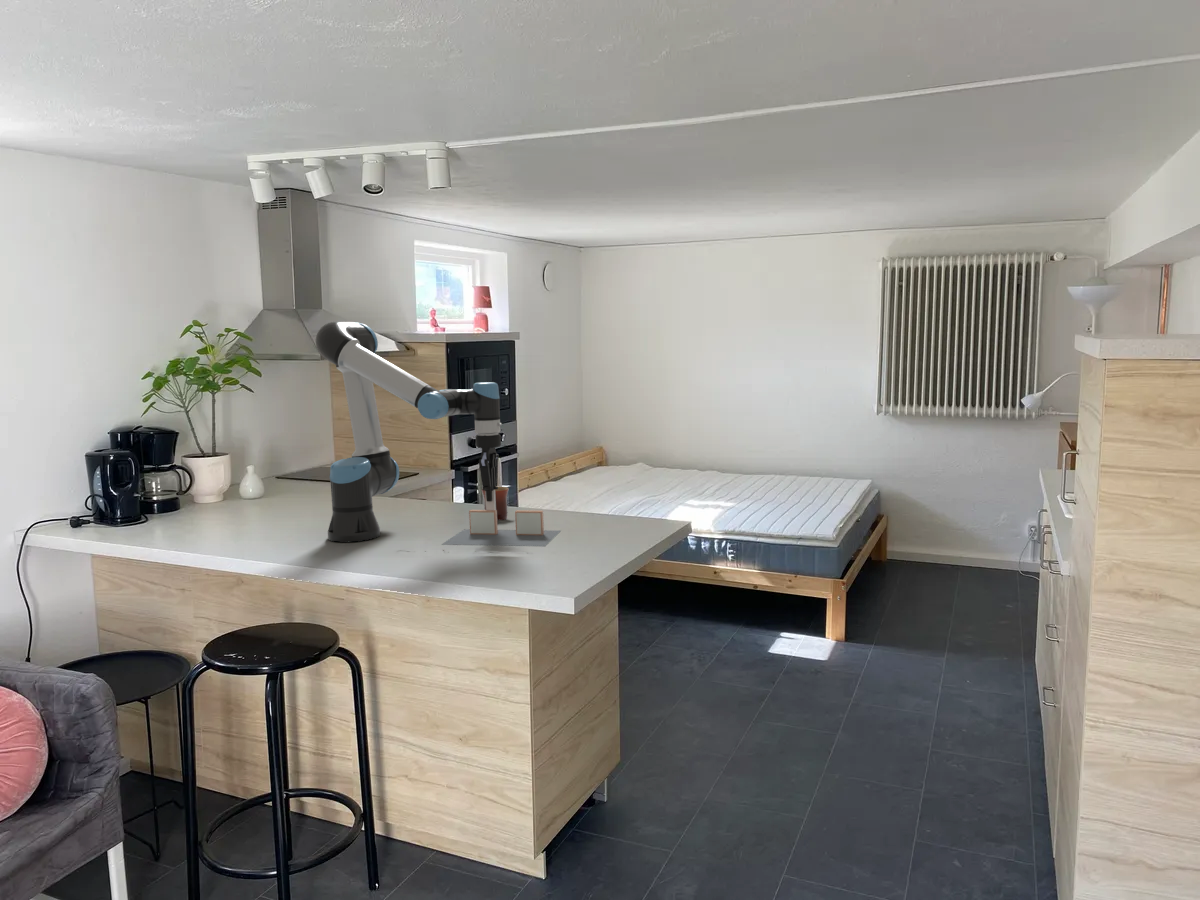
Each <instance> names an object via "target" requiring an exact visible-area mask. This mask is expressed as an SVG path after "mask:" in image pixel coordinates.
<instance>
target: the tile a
mask: <svg viewBox="0 0 1200 900" xmlns="http://www.w3.org/2000/svg"><path fill="white" fill-rule="evenodd" d="M468 514H469V517H468V519H469V529H470V534H490V535H496V534H498V530H499V527H498V520H497V510H484V509H470V510H468Z"/></svg>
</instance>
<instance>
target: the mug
mask: <svg viewBox="0 0 1200 900" xmlns="http://www.w3.org/2000/svg"><path fill="white" fill-rule="evenodd" d="M497 487H498V489H494V490H495V496H496V510H497V521H505V520H506V519H508V502H507V500H508V492H509V487H507V486H497ZM481 494H482V496H483V501H484V502H483V504H484V506H483V507H484V509H483V510H486V498H485V491H482V490H481Z"/></svg>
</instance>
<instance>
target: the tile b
mask: <svg viewBox="0 0 1200 900" xmlns="http://www.w3.org/2000/svg"><path fill="white" fill-rule="evenodd" d="M514 518H515V530H516V535H544V530H545V524H544V510H531V509H529V510H527V509H526V510H518V509H517V510H515V513H514Z"/></svg>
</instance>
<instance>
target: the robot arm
mask: <svg viewBox="0 0 1200 900" xmlns="http://www.w3.org/2000/svg"><path fill="white" fill-rule="evenodd" d="M378 343H379V342H378V337H377V335H376V333H375V332H374V330H373V329H372V328H371V327H370V326H368V325H367V324H365V323H360V322H357V321H331V322H328V323H326V324H324V325H323V326H321V327H320V329H319V330H318V331H317V333H316V335H315V346H316V350H317V352H318V353H319V354H320V355H321V356H322V357H323V358H324V359H325V360H327V361H328V362H330V363H332V364H333V365H335V368H336V370H338V371H339V372H341V374H342V379H343V384H344V385H343V386H344V389H345V396H346V401H347V407H348V413H349V414H348V415H349V419H350V424H351V425H350V426H351V431H352V436H353V441H354V442H353V443H354V451H353V452H352V454H351V457H347V458H342V459H339V460H336V461H334V462H333V463H332V464H331V465H330V467H329V468H330V470H329V480H330V492H331V493H330V494H331V506H332V507H331V509H332V515H331V518H330V522H329V526H328V530H327V540H328V539H329V540H328V541H330V540H332V541H331V542H334V541H340V542H339V543H349V542H348V541H358V542H363V541H362V540H365V541H369V540H368V539H370V540H373V539H372V538H374V539H376V537H377V538H379V537H380V536H381V527H380V526H379V522H378V520H377V518H376V515H375V512H374V510H373V509H374V508H373V507H374V506H373V497H375V496H378V495H383V494H385V493H387V492H388V491H391V490H392V489H393V488H394V487H395V486H396V485H397V483H398V481H399V478H400V467H399V465H398V463H397V462H396V460H394V459H393V457H391V452H390V449H389V448H388V447H387V446H385V444H384V440H383V434H382V430H381V429H382V428H381V423H380V422H381V421H380V417H379V412H378V411H379V410H378V406H377V400H376V399H377V398H376V392H375V387H374V384H375V385H377V386H378V387H380V388H382V389H383V390H385V391H387V392H389V393H391V394H392V395H394V396H395V397H397V398H399V399H400V400H402V401H405V402H406V403H408V404H410V405H411V406H412V407H415V408H416V409H417V410H418V412H419V414H420V415H421V416H422V417H424V418H425V419H429V420H438V419H442V418H447V417H452V416H455V415H474V433H475V434H476V435H475V436H474V437H475V447H476V448H478V449H481V454H480V459H478V465H479V468H480V477H481V478H480V479H481V485H482V488H481V492H482V491H485V498H486V510H496V496H495V490H494V489H498V487H499V486H498V474H499V473H498V472H499V471H498V470H499V458H500V455H499V454H498V453H497V451H496V448H500V447H501V445H502V438H501V437H502V436H501V434H500V432H501V427H502V426H503V425H502V424H503V423H502V422H501V414H500V411H501V410H500V398H501V397H500V391H499V389H500V388H499V385H498V383H497V382H494V381H492V382H489V381H488V382H487V381H486V382H475V383H473V387H472V388H471V389H470V388H469V389H460V388H459V389H456V388H455V389H452V388H447V389H446V388H445V389H440V390H438V389H436V388H435V387H433V386H431V385H429V384H428V383H426V382H424V381H422V380H421V379H419V377H415V376H414V375H412V374H411V373H409V372H407V371H406V370H404V369H402V368H401V367H398V365H396V364H393V363H392V362H389V361H388V360H387V359H384V358H383V357H381V356H380V355H377V354H376V352H377V350H378V346H379V344H378ZM378 536H379V537H378Z"/></svg>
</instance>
